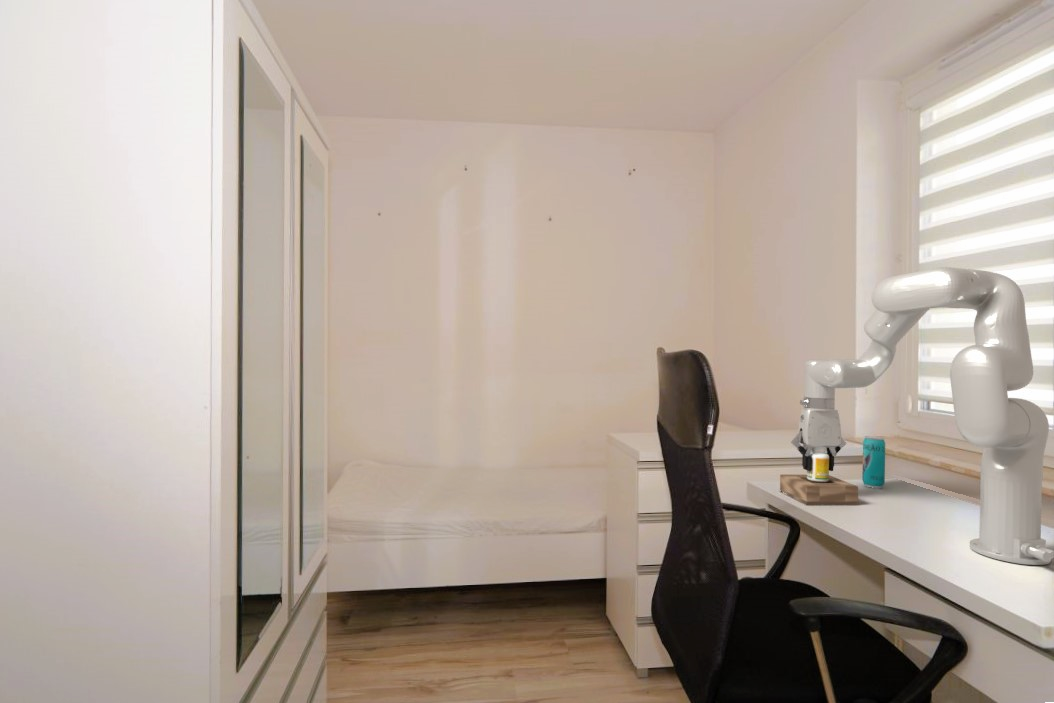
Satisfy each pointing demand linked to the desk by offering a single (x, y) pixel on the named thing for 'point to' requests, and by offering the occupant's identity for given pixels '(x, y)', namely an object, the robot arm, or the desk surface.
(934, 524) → the desk surface
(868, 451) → the beverage can
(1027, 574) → the desk surface
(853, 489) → the socket block
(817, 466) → the supplement bottle
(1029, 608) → the desk surface
